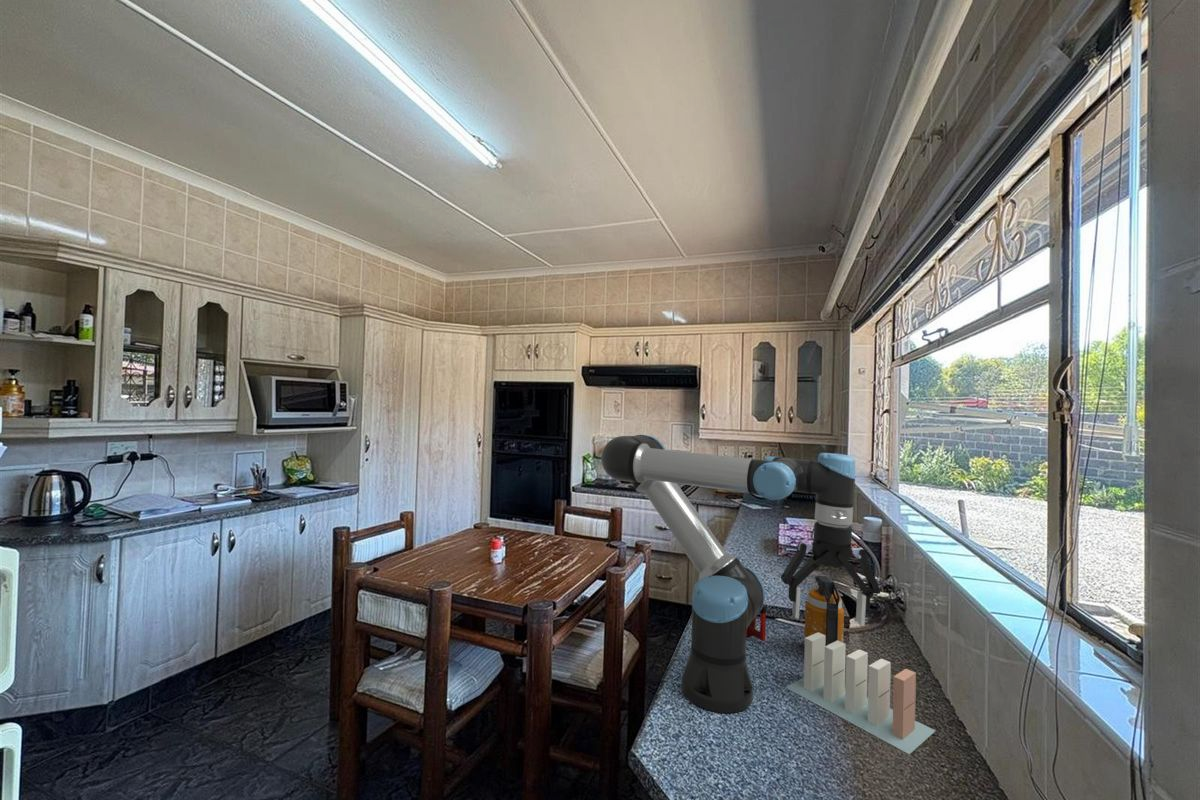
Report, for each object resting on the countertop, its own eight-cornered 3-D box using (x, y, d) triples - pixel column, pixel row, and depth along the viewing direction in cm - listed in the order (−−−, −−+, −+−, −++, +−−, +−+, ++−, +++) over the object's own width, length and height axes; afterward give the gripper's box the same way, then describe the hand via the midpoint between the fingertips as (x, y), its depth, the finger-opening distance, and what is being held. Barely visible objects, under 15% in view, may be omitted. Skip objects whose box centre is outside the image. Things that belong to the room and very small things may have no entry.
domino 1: (803, 687, 107) (804, 637, 107) (816, 680, 110) (817, 632, 111) (811, 691, 106) (812, 641, 106) (824, 684, 109) (825, 635, 109)
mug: (764, 646, 127) (765, 600, 127) (714, 630, 135) (716, 587, 135) (775, 633, 134) (776, 590, 135) (728, 619, 143) (729, 578, 143)
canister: (834, 649, 126) (836, 573, 127) (852, 671, 115) (854, 588, 116) (799, 646, 127) (801, 570, 128) (813, 668, 116) (816, 585, 117)
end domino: (892, 734, 92) (893, 676, 92) (904, 724, 95) (905, 668, 96) (902, 739, 91) (904, 680, 91) (914, 729, 94) (916, 672, 94)
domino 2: (823, 698, 103) (824, 646, 104) (836, 690, 106) (837, 640, 107) (831, 702, 102) (832, 650, 102) (844, 694, 105) (845, 643, 105)
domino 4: (867, 721, 96) (868, 665, 96) (880, 712, 99) (881, 658, 99) (877, 726, 94) (878, 669, 95) (889, 717, 98) (890, 662, 98)
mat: (785, 688, 107) (785, 687, 107) (814, 673, 114) (814, 671, 114) (909, 755, 87) (909, 754, 87) (935, 732, 94) (935, 730, 94)
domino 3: (845, 709, 100) (846, 655, 100) (857, 701, 103) (858, 649, 103) (853, 714, 98) (855, 659, 98) (866, 705, 101) (867, 652, 101)
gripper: (778, 522, 104) (772, 620, 104) (901, 533, 101) (896, 634, 100) (770, 514, 111) (765, 606, 111) (885, 524, 108) (879, 619, 108)
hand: (827, 619), depth 106 cm, fingers open, 13 cm apart
